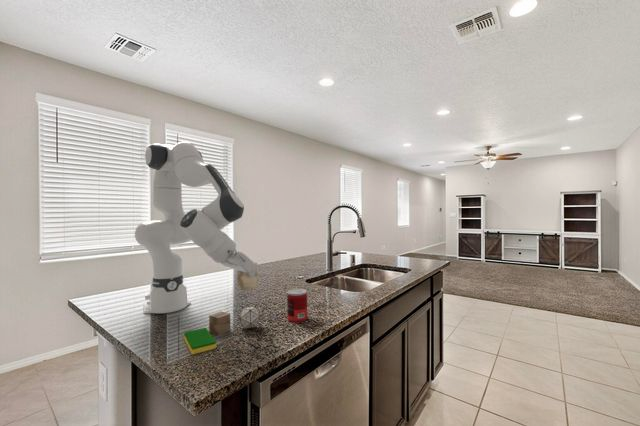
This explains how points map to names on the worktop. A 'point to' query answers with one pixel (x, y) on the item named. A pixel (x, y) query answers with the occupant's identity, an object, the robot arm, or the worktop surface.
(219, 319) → the walnut block
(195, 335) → the dish sponge
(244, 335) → the worktop surface
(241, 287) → the maple block
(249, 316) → the game die
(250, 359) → the worktop surface
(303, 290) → the canned food
